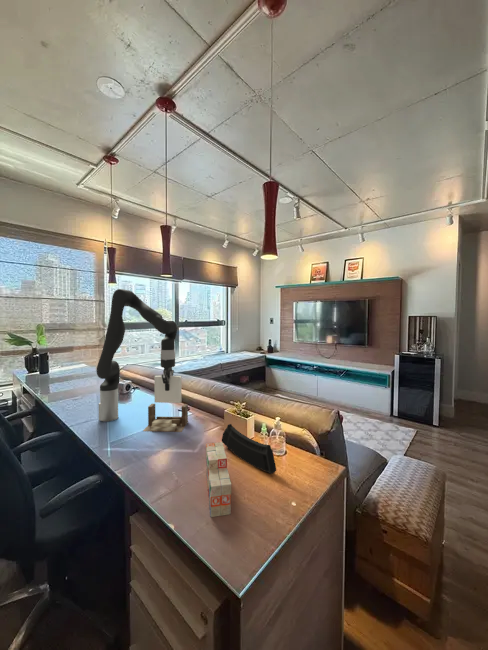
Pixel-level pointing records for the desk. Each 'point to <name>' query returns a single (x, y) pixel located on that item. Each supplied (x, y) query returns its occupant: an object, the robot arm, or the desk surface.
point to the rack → (179, 421)
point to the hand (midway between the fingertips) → (168, 389)
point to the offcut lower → (164, 428)
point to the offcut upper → (161, 423)
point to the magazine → (249, 450)
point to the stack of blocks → (218, 480)
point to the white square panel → (170, 395)
